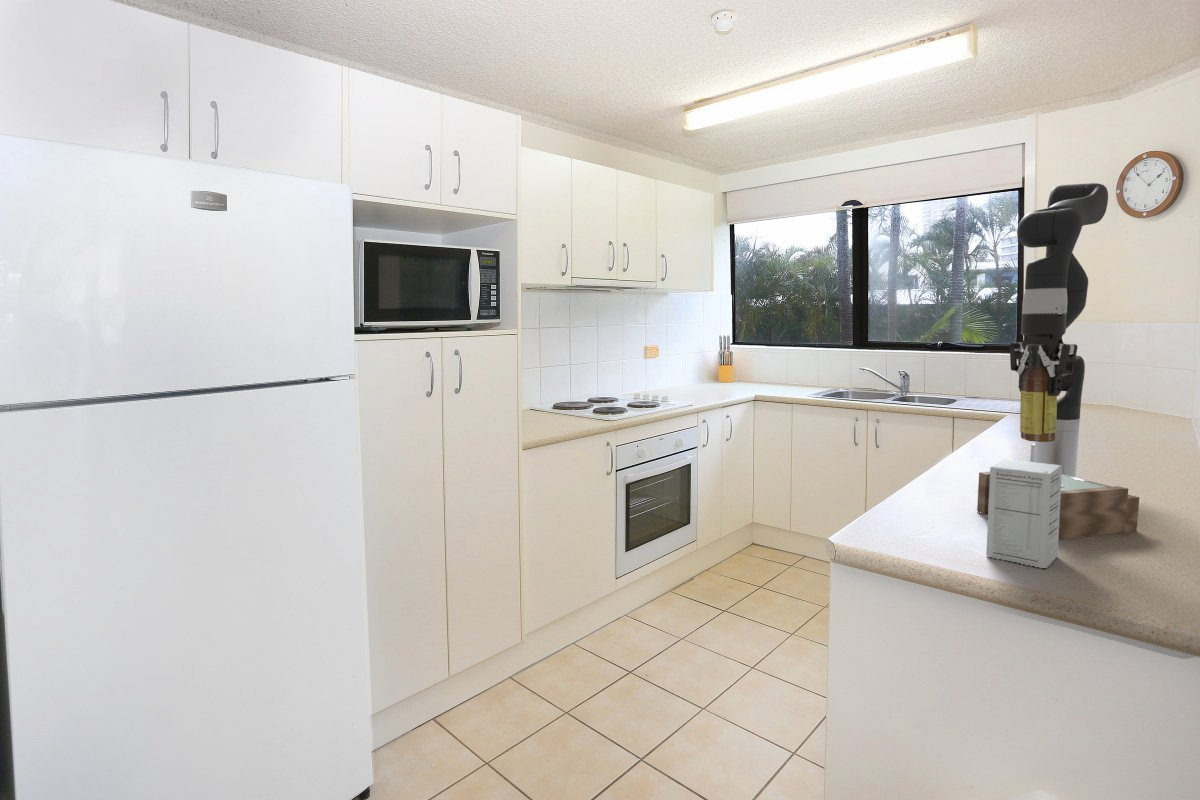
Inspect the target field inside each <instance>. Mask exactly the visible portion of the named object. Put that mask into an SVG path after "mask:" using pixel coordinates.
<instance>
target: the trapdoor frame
mask: <svg viewBox="0 0 1200 800" xmlns="http://www.w3.org/2000/svg"><path fill="white" fill-rule="evenodd" d="M989 485H990V471H983V472H978V485H977V488H978V489H977V507H976V512H977V511H978V512H981V513H983V514H982V515H984V514H985V515H988V504H989ZM1139 509H1140V496H1136V495H1131V494H1129V487H1123V486H1120V485H1116V486H1115V485H1114V486H1112V487H1101V488H1088V489H1076V490H1063V491H1061V498H1060V518H1059V538H1058V540H1061V539H1073V538H1074V537H1075V538H1082V537H1083V538H1084V536H1085V537H1095V536H1102V535H1103V536H1105V535H1113V534H1115V535H1116V534H1124V533H1125V534H1126V533H1134V532H1135V531H1136V532H1137V531H1138V530H1137V529H1138V520H1139V519H1138V517H1139ZM978 512H977V513H978ZM981 513H980V514H981Z"/></svg>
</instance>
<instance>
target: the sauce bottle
mask: <svg viewBox="0 0 1200 800" xmlns="http://www.w3.org/2000/svg"><path fill="white" fill-rule="evenodd" d="M1039 345H1042V346H1044V344H1028V352H1029V360H1028V367H1026V368H1027V369H1026V370H1025V372H1024V373H1023V375H1022V382H1021V392H1020V408H1019V409H1020V411H1019V412H1020V413H1019V414H1020V415H1019V416H1020V417H1019V419H1020V421H1019V425H1020V426H1019V432H1020V439H1022V440H1025V441H1028V442H1035V441H1037V442H1051V441H1054V440H1055V432H1056V415H1057V400H1058V396H1048V379H1049V377H1050V375H1049V372H1048V370H1047V368H1046V367H1045V366H1044V365H1043V362H1042V359H1041V356H1040V354H1039V353H1038V351H1039Z"/></svg>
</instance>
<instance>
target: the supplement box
mask: <svg viewBox="0 0 1200 800" xmlns="http://www.w3.org/2000/svg"><path fill="white" fill-rule="evenodd" d="M989 472H990V485H989V504H988V514H987V533H986V535H987V536H986V555H987V556H989V557H993V558H992V559H994V558H998V559H997V560H999V559H1003V560H1002V561H1004V560H1008V561H1012V562H1011V563H1013V562H1017V563H1016V564H1018V563H1021V564H1020V565H1023V564H1025V565H1024V566H1028V565H1030V566H1029V567H1032V566H1035V567H1034V568H1037V567H1039V568H1038V569H1042V568H1046V569H1047V568H1048V567H1049V566H1050V565H1051V564H1052V563H1053V562H1054V561H1055V559H1056V558H1057V557H1058V555H1059V539H1058V538H1059V518H1060V498H1061V477H1062V465H1054V464H1045V463H1036V462H1030V461H1025V460H1016V459H1007V458H1006V459H1003V460H1001V461H999V462H996V463H995V464H994V465H992V466H990V467H989ZM989 557H988V558H989ZM1008 561H1007V562H1008Z"/></svg>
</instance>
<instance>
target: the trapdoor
mask: <svg viewBox="0 0 1200 800" xmlns="http://www.w3.org/2000/svg"><path fill="white" fill-rule="evenodd" d="M1101 487H1113V486H1111V485H1108V484H1103V483H1099V482H1097V481H1096V482H1095V481H1091V480H1087V479H1084V478H1078V477H1076V478H1075V477H1071V476H1067V475H1063V474H1062V477H1061V491H1063V490H1076V489H1088V488H1101Z"/></svg>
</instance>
